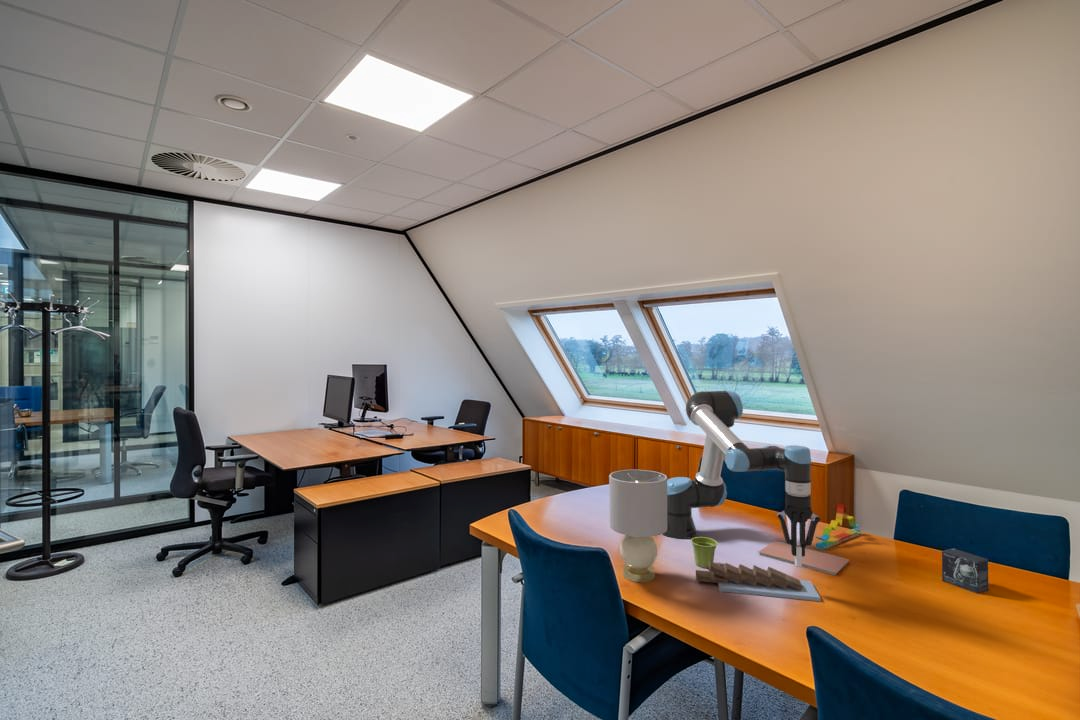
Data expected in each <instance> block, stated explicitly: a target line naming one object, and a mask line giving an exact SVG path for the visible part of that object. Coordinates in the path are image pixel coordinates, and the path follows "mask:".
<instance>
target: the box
mask: <svg viewBox="0 0 1080 720" xmlns="http://www.w3.org/2000/svg"><path fill="white" fill-rule="evenodd" d="M941 563H942V564H941V581H942V582H944V583H947V584H950V585H952V586H956V587H958V588H961V589H963V590H966V591H969V592H972V593H975V594H981V593H984V592H987V591H989V589H990V588H989V559H988V558H986V557H982V556H979V555H975V554H973V553H971V552H966V551H963V550H960V549H956V548H949V549H945V550H942V551H941Z"/></svg>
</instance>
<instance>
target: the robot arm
mask: <svg viewBox="0 0 1080 720" xmlns="http://www.w3.org/2000/svg"><path fill="white" fill-rule="evenodd" d="M743 411H744V406H743V402H742V400H741V397H740V396H739V394H738V393H736V392H735V391H732V390H715V391H712V390H711V391H708V390H706V391H697V392H695V393H694V394H692V395H690V397H689V398H688V399H687V401H686V405H685V412H686V416H687V418H688V419H689V421H691V423H692V424H693V425H695V426H698V427H699V428H700V429H701V430H702V432H704V433H705V438H704V439H705V440H704V446H703V451H702V457H701V463H700V469H699V472H696V473H695V478H694V480H692V479H691V478H689V477H687V476H686V477H685V476H676V477H675V476H674V477H671V478H667V531H666V532H665V533H663V534H662V535H664V536H665V537H670V538H673V539H689V538H694V537H695V536H696V535H697V528H696V525H695V522H694V519H693V516H692V515H693V514H692V513H693V511H692V509H697V508H699V509H700V508H714V507H720V506H722V505H723V504H725V501H726V499H727V495H728V491H727V485H726V482H724V480H723V478H722V476H721V473H722V469H723V463H724V462H725V464H726V467H727V469H729V471H731V472H740V473H743V472H753V471H754V472H756V471H770V470H771V471H773V470H777V471H780V472H784V480H785V481H784V482H785V483H784V491H785V493H784V501H785V502H784V507H783V510H782V511H781V512H776V517H777V518H778V519H779V522H780V525H781V529H782V533H783V537H784V540H785V542H786V543H787V544H789V545H791V553H792V555H793V556H795V564H794V565H795V566H796V567H797V568H802V567H803V566H802V556H805V548H806V547H807V546H812V543H813V541H814V536H815V533H816V528H817V526H818V524H819V522H820V521H821V518H820V516H818V514H815V513H813V510H812V496H811V494H812V493H811V492H812V491H811V490H812V489H811V488H812V483H811V482H812V480H811V476H812V471H811V469H812V459H811V449H810V448H809V447H807V446H804V445H795V444H794V445H793V444H792V445H787V446H785V448H784V447H783V448H782V447H779V446H777V445H769V444H768V445H765V446H763V447H759V448H758V447H756V448H750V447H748V446H747V445H746V444H745V443H744V442H743V441H742V440H741V439H740V438H739V437H738V435H736V434H735V433H734V431H732V430H731V429H730V428H732V427H734V426H735V420H737V419H740V418H741V417H742V416H743ZM786 517H787V518H788V519H789V521H790V534H789V532H788V527H787V523H786V520H785V519H786ZM809 519H810V523H809V526H808V530H807V534H806V522H807V521H808V520H809ZM798 524H799V527H798ZM798 528H799V533H798V532H797V531H798V530H797V529H798ZM797 534H799V543H798V541H797V540H798V539H797V536H798V535H797ZM806 549H807V548H806Z"/></svg>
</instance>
